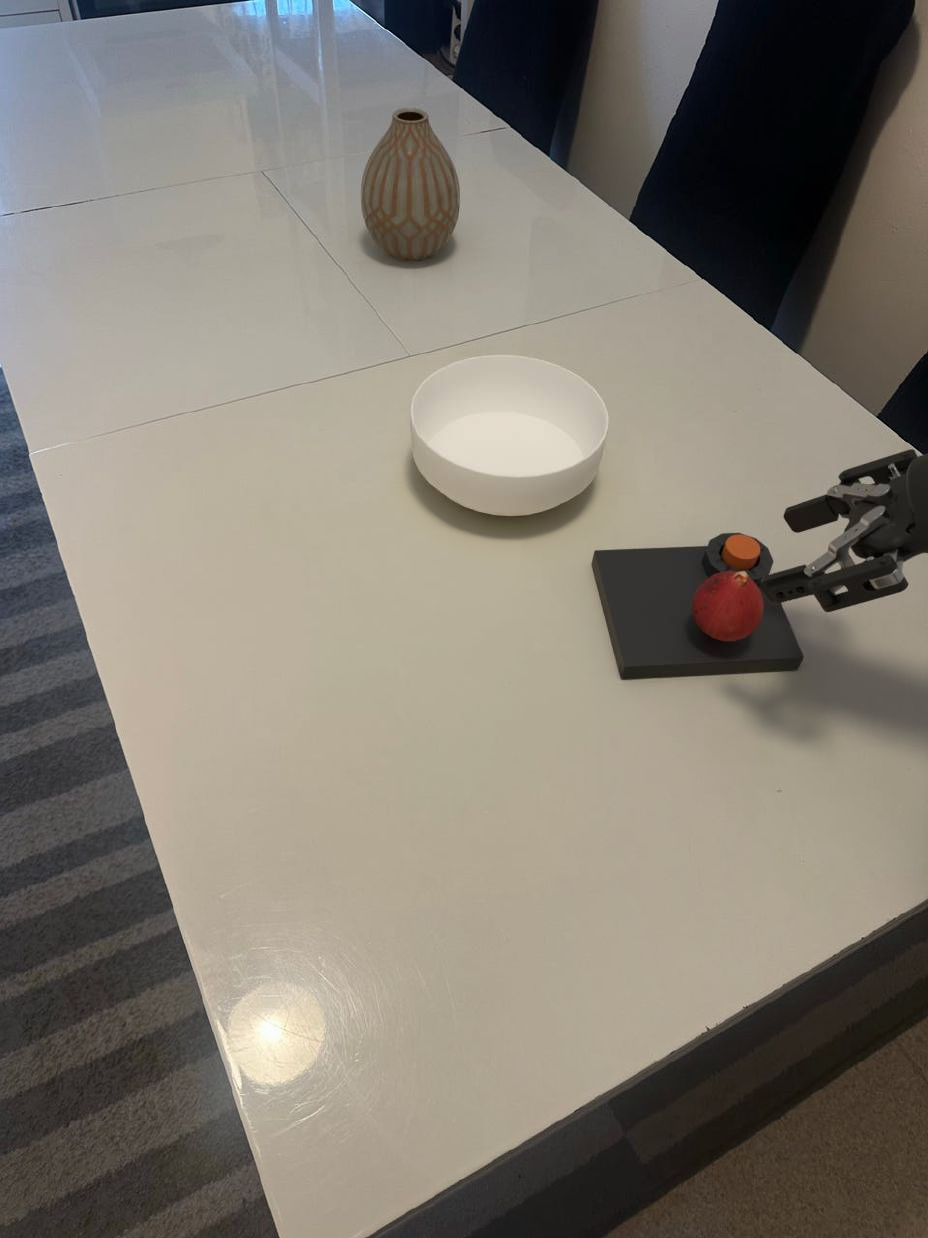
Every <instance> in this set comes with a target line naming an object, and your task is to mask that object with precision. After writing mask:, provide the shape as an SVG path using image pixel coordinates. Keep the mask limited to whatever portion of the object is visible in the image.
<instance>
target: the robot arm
mask: <svg viewBox="0 0 928 1238" xmlns="http://www.w3.org/2000/svg"><path fill="white" fill-rule="evenodd" d="M867 477H869V478H871V479H872V481H873V482H874V483H870V484H868V483H862V482H861V480H860V479H865V478H867ZM838 479H839V481H840V482H839V483H838V484H836V485H833V486H831V487H830V488H829V489H828V490H827V491H826V494H823V495H820V496H817V497H814V498H811V499H808V500H805V501H802V502H800V503H797V504H794V505H790V506H788V507H786V508H785V510H784V513H783V519H784V521H785V522H786V524H787V525H788V527H789V529H790V530H791V531H792V532H793V533H797V534H800V533H803V532H805V531H809V530H813V529H815V528H818V527H822V526H825V525H828V524H831V523H834V522H838V521H839V518H840V517H841V519H847V520H848V523H847V524H846V527H845V528H844V531H843V533H841V534H840V535H839V536H837V537H835V538H834V539H833V540H831V541H830V543H829V544H828V546H827V551H826V552H825V553H823V554H822V555H820V556H819V557H817V558H816V559H815V560H814V561H812V562H810V563H809V564H808V565H806V564H801V565H798V566H793V567H791V568H787V569H784V570H780V571H777V572H773V573H769V575H766V576H764V577H763V578H762V581H761V584H760V587H761V589H762V590H763V592H764V593H765V594H766V596H767V597H768V599H769V600H770V601H772V602H775V603H781V604H782V603H786V602H789V601H793V600H797V599H802V598H805V597H809V596H813V597H814V598H815V600H816V601H817V602H818V604H819V605H820V607H821V608H822V610H823V611H824V612H825V613H831V612H835V611H839V610H842V609H843V610H844V609H846V608H850V607H853V606H856V605H860V604H864V603H867V602H871V601H874V600H879V599H882V598H885V597H888V596H892V595H895V594H899V593H902V592H903V591H905V590H906V589H907V588H908V587H909V581H908V580H907V578H906V577H905V575H904V573H903V568H904V563H906V562H908V561H909V560H910V559H913V558H914V557H916V556H920V555H921V554H928V452H927V453H924V454H922V455H919V456H918V454H917V453H916V451H915V450H914V449H906V450H904V451H900V452H897V453H894V454H891V455H888V456H884V457H881V458H879V459H875V460H872V461H869V462H866V463H863V464H859V465H855V466H853V467H850V468H847V469H844V470H842V471H841V472H840V474H839V475H838ZM850 549H851V550H852V552H853V554H854V555H855V556H856V557H858V558H859V559H864V560H863V561H861V562H859V563H855V561H854V559H853V558H852V556H851V555H850V551H849V550H850ZM836 564H838V565H839V567H840V569H836V570H834V571H831V572H826V571H827V570H829V569H830V568H832V567H833V566H835V565H836ZM844 587H845V588H846V589H847V590H845V591H843V592H840V593H836V592H838V591H840V590H841V589H842V588H844Z"/></svg>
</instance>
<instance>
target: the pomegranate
mask: <svg viewBox="0 0 928 1238" xmlns="http://www.w3.org/2000/svg"><path fill="white" fill-rule="evenodd" d="M763 609H764V603H763V598H762V595H761V592H760V590H759V588H758V587H757V585H756V584H755V582H754V581H753V580H752V579H751V578H749V577H748V574H747V573H746V571H742V572H736V571H727V572H721V573H717V574H714V575H712V576H711V577H710V578H708V579H707V580H706V581H705V582H703V583H702V584H701V585H700V586H699V588H698V590H697V591H696V594H695V596H694V599H693V602H692V612H693V616H694V620H695V622H696V623H697V625H698V626H699V627H700V628H701V629H702V631H703V632H705V633H706V634H708V635H709V636H711V637H712V638H715V639H718V640H721V641H736V640H739V639H743V638H745V637H747V636H749V635H750V634H751V633H752V632H753V631H754V630H755V629H756V628H757V626H758V625H759V623H760V621H761V618H762V614H763Z"/></svg>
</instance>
